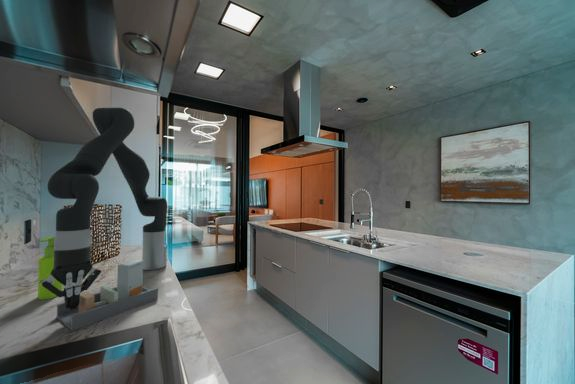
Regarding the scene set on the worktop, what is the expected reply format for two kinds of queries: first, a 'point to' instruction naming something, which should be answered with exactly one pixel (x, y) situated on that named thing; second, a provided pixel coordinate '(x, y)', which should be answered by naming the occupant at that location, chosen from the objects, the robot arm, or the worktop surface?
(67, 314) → the pusher lane
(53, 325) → the worktop surface
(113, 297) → the pusher
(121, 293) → the skincare box
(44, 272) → the soap dispenser
